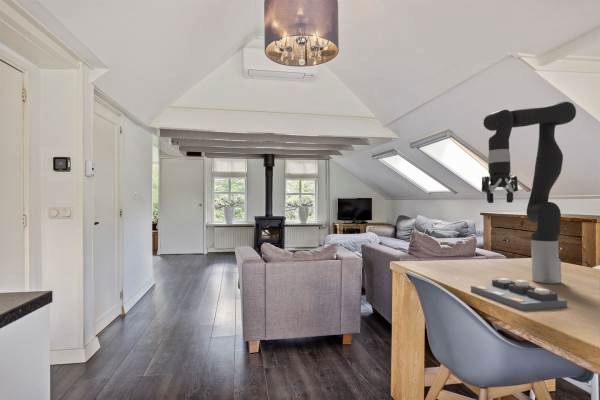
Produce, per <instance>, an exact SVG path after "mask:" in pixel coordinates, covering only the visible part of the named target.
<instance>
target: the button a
mask: <svg viewBox="0 0 600 400" xmlns="http://www.w3.org/2000/svg"><path fill="white" fill-rule="evenodd" d="M497 280H498V281H499V282H502V283H510V282H511V281H512V280H511V278H505V277H499V278H498V279H497Z"/></svg>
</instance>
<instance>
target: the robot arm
mask: <svg viewBox="0 0 600 400" xmlns="http://www.w3.org/2000/svg"><path fill="white" fill-rule="evenodd" d="M576 115H577V108H576V106H575V105H574V103H572V102H570V101H559V102H556V103H552V104H548V105H546V106H542V107H534V108H532V107H531V108H530V107H529V108H521V109H512V110H509V109H500V110H498V111H494V112H492V113H489V114H487V115H486V116H485V118H483V127H484V128H485V129H486V130H488V131H492V132H493V131H494V132H495V134H493V135H492V136H490V137H489V138H488V157H487V158H488V159H487V160H488V162H487V163H488V166H487V167H488V174H489V176H482V177H481V192H482V193H485V194H486V201H487V203H488V204H493V203H494V191H495V190H496V189H497V188H502V189H503V190H505V192H506V203H509V204H510V203H511V204H512V203H513V202H514V193H515V192H518V191H519V185H518V176H517V175H513V176H511V175H510V173H511V152H510V137H511V133H512V129H513V128H522V127H528V126H533V125H534V126H535V125H538V127H539V129H538V144H537V152H536V158H535V165H534V172H533V173H534V175H533V180H532V184H531V186H532V187H531V191H530V196H529V200H528V203H527V207H526V217H527V219H528V220H529V221H530V222H531V223H534V224H537V225H536V227H537V228H536V230H535V231H533V232H531V234H530V239H531V240H530V247H531V251H530V252H531V279H532V281H533V282H537V283H542V284H552V285H553V284H559V283H562V260H561V259H560V258H559V257H560V256H559V236H560V234H561V227H562V226H561V225H562V223H561V221H562V214H561V209H560V207H559V205H557V204H556V203H555V202H552V201H549V198H550V197H549V196H550V194H551V193H550V192H551V190H552V188H553V186H554V185H555V183H556V182H557V180H558V179H559V177H560V175H561V173H562V167H563V161H564V155H563V152H562V150H561V148H560V146H559V145H558V142H557V141H556V137H555V131H556V127H557V126H561V125H564V124H565V125H566V124H568V123H570V122H572V121H573V120H574V119H575V118H576Z"/></svg>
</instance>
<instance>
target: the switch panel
mask: <svg viewBox="0 0 600 400" xmlns="http://www.w3.org/2000/svg"><path fill="white" fill-rule="evenodd" d="M535 288H537V287H536V286H531V285H529V288H519V287H516V286H515V281H514V280H511V282H510V283H502V282H499V281H498V279H491V284H476V285H470V292H472V293H475V294H476V295H477V294H478V295H481V296H483V297H486V298H489V299H491V300H494V301H497V302H499V303H502V304H505V305H507V306H510V307H513V308H515V309H518V310H521V311H533V310H534V311H535V310H544V309H545V310H546V309H558V308H567V307H568V301H567V299H563V298H559V295H558V293H556V292H553V291H550V294H540V293H536V292H535Z"/></svg>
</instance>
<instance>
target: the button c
mask: <svg viewBox="0 0 600 400" xmlns="http://www.w3.org/2000/svg"><path fill="white" fill-rule="evenodd" d="M535 292H536V293H540V294H550V292H551V291H550V289H548V288H541V287H536V288H535Z"/></svg>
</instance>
